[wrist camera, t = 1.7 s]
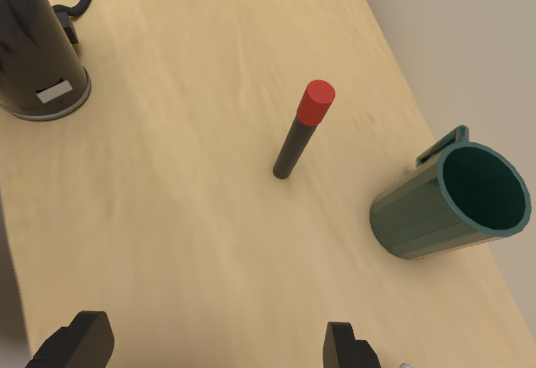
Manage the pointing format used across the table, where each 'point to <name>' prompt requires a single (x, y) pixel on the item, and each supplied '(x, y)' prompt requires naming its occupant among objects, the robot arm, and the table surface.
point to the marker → (304, 125)
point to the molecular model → (405, 365)
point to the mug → (451, 200)
